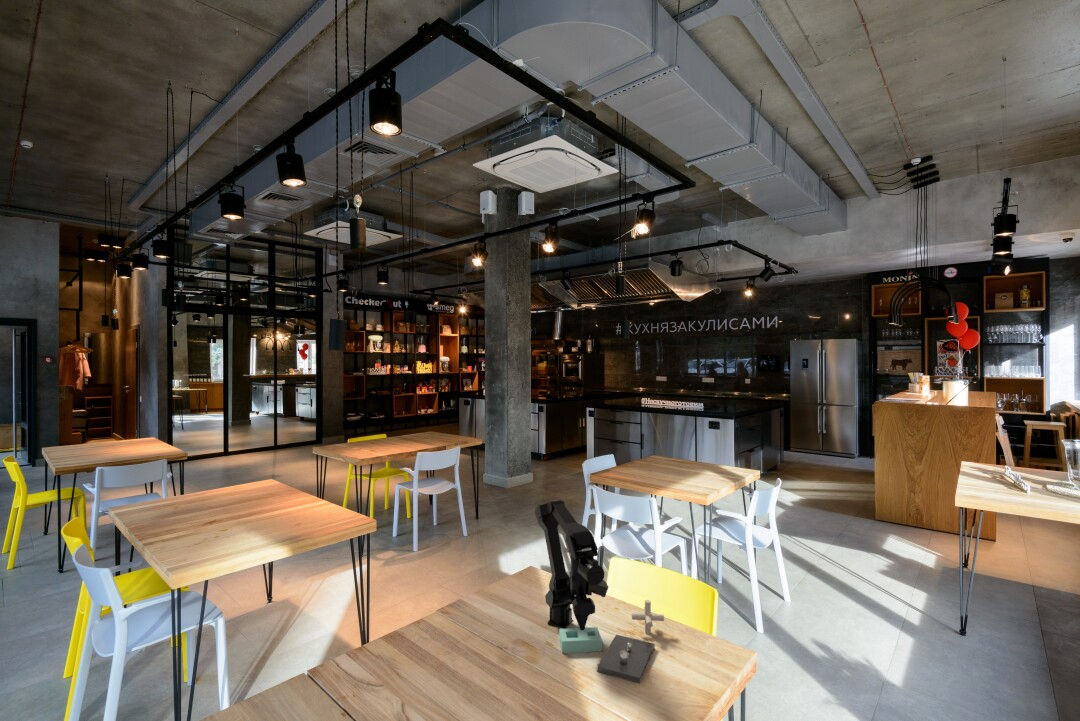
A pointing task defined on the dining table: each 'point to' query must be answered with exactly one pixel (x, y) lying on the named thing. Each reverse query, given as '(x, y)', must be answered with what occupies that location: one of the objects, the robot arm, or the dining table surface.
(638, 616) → the pipe connector
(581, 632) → the teal hollow block
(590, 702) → the dining table surface
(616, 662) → the post base
